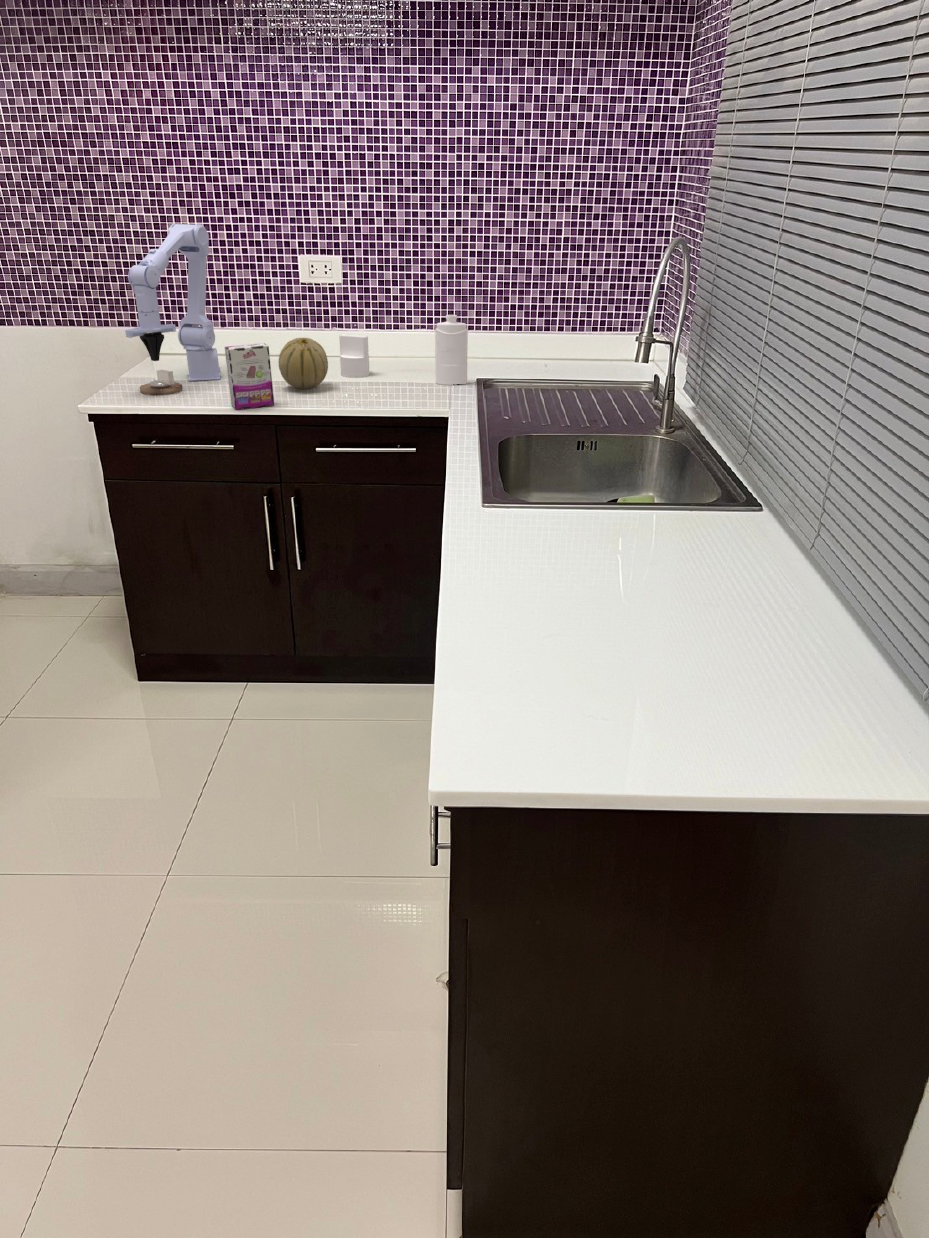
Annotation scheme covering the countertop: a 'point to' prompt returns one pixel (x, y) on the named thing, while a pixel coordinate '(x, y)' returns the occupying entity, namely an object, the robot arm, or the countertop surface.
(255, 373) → the candy bar box
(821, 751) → the countertop surface
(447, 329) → the squeeze bottle
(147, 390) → the base
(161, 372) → the dial
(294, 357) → the cantaloupe
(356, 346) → the cylinder with rectangular tab
